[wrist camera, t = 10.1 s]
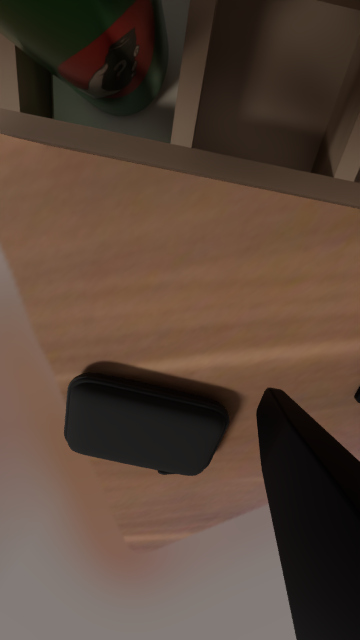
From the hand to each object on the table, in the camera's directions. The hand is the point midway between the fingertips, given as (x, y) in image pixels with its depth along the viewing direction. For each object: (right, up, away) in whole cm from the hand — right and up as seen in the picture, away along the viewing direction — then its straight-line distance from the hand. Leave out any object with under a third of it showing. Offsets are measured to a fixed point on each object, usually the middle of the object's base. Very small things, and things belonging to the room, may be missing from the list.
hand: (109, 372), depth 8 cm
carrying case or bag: (-1, -8, +20) cm, 21 cm away
